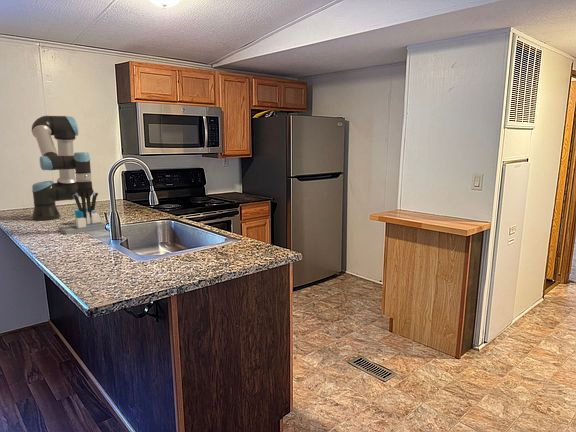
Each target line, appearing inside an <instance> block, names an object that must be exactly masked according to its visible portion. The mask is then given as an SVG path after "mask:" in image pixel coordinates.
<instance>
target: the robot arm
mask: <svg viewBox="0 0 576 432" xmlns="http://www.w3.org/2000/svg"><path fill="white" fill-rule="evenodd" d="M31 133H32V136H33V137H34V138H35V139H36V142H37V145H38V149H39V151H40V154H41V156H39V166H40V167H39V168H40V169H41V170H42V171H58V172H59V178H57V179H56V182H54V181H53V180H47V181H45V180H44V181H39V182H36V183H34V184H32V186H31V188H32V189H31V191H32V192H31V193H32V198H33V206H34V207H33V211H32V215H31V217H32V221H50V220H55V219H60V218H61V215H60V212H59V209H58V208H57V206H56V205H57V204H56V202H62V201H73V200H74V201H75V204H76V206H77V209H79V211H81V212H83V217H84V218H86V224H90V217H91V214H92V213H93V212H92V211H94V210H95V209H96V202H97V197H98V195H99V193H98V192H96V191H94V189H93V182H92V179H93V178H92V170H91V168H92V167H91V157H90V154H89V152H85V151H83V152H81V151H80V152H79V151H78V152H74V141H75V140H76V139H77V136H79V127H78V123H77V121H76V119H75V117H73V116H68V115H43V116H40V117H38V118H36V120H35V121H34V122H33V123H32V125H31ZM52 136H53V137H52ZM53 139H55V140H56V141H57V142H56V143H57V149H56V147H55V143H54V141H53ZM91 196H92V197H91ZM79 198H80V199H79ZM91 198H92V199H91ZM86 209H87V210H88V211H87V212H86Z"/></svg>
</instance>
